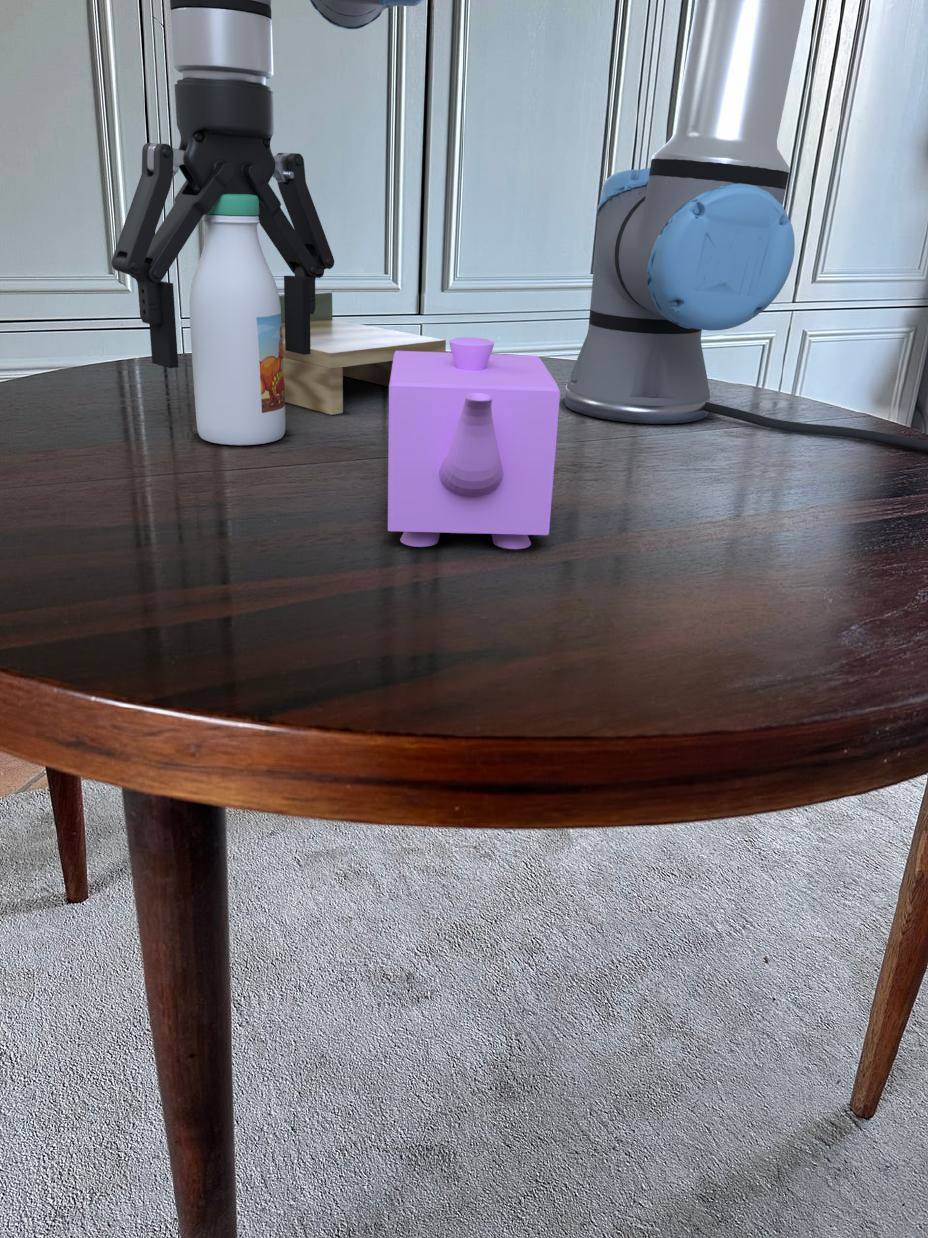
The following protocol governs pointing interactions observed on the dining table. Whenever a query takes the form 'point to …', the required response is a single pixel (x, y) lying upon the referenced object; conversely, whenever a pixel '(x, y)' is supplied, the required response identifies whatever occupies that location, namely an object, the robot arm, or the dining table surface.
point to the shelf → (342, 357)
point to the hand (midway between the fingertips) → (235, 358)
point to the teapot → (471, 444)
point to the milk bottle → (236, 330)
